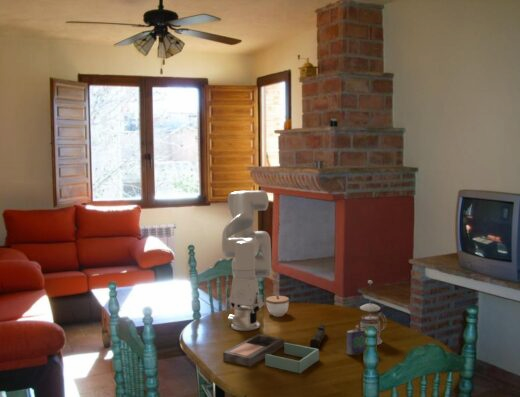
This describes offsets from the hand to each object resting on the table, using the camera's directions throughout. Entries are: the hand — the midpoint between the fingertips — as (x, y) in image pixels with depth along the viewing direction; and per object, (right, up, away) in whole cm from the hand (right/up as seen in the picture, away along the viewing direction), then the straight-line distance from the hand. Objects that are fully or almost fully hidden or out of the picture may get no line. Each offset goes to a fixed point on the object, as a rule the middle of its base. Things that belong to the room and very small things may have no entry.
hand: (245, 321), depth 204 cm
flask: (+43, -13, +5) cm, 45 cm away
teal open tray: (+17, -14, -4) cm, 22 cm away
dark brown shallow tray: (+3, -14, +6) cm, 15 cm away
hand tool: (+29, -13, +19) cm, 37 cm away
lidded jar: (+14, -10, +56) cm, 58 cm away
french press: (+51, -12, +17) cm, 55 cm away
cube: (0, -1, 0) cm, 1 cm away
